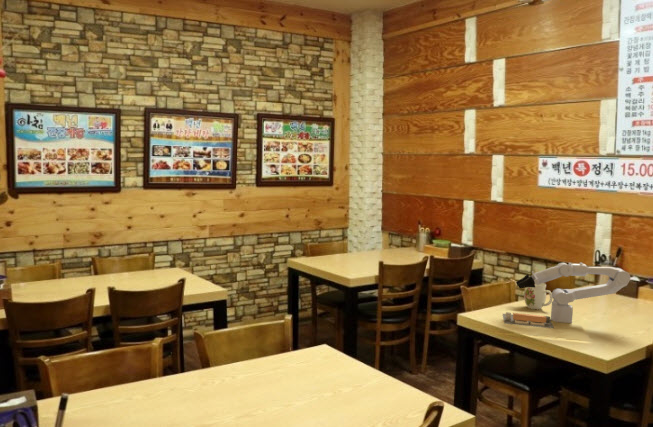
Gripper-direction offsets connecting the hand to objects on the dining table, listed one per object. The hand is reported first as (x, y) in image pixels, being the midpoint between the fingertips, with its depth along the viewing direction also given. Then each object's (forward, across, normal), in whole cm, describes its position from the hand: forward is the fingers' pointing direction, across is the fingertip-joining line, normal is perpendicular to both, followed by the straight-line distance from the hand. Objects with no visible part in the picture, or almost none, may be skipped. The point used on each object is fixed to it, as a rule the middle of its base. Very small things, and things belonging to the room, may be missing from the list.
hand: (517, 285), depth 277 cm
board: (+3, +4, +18) cm, 18 cm away
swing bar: (+1, +8, +16) cm, 18 cm away
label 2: (-1, +8, +18) cm, 20 cm away
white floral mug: (-6, -26, +19) cm, 33 cm away
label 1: (+5, +8, +16) cm, 18 cm away
